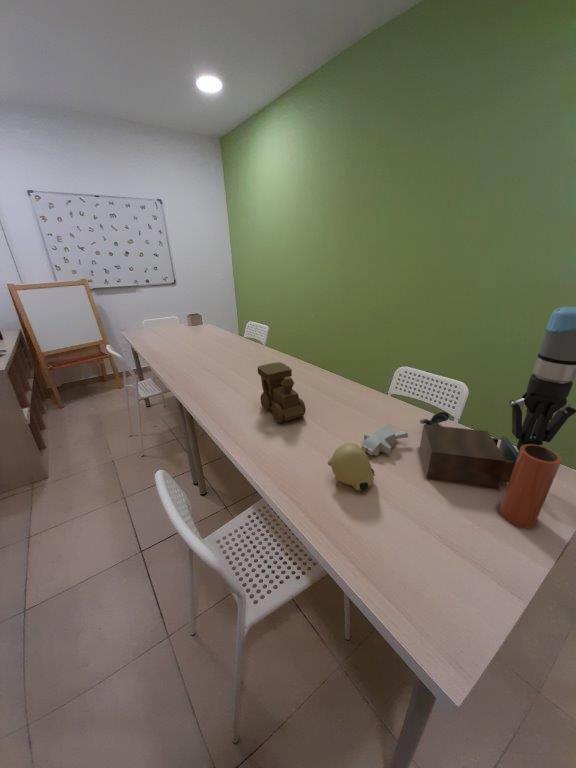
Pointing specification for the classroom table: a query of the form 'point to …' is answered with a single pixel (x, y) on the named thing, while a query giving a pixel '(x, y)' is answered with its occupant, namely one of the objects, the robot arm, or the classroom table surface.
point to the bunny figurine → (381, 440)
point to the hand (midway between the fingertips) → (521, 461)
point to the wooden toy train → (280, 392)
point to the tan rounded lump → (352, 466)
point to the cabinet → (461, 456)
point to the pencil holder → (529, 484)
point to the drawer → (507, 457)
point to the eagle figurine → (436, 419)
